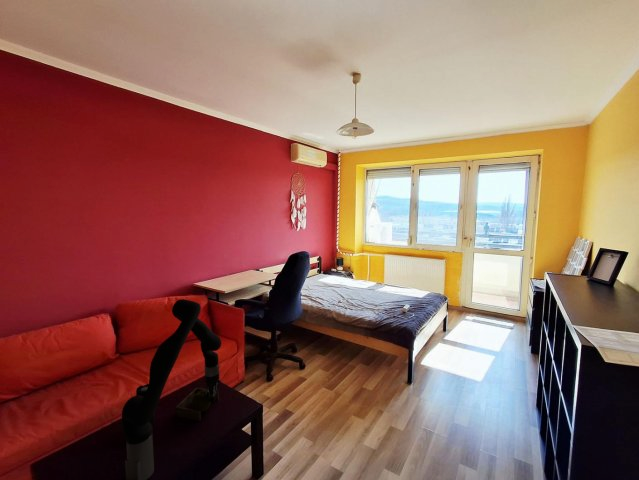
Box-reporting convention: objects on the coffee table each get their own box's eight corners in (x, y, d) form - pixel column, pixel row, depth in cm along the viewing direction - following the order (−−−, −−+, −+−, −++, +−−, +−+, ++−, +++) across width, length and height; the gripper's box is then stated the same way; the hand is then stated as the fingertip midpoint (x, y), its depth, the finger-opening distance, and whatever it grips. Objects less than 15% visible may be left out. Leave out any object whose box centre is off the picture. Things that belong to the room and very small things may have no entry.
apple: (211, 413, 159) (210, 394, 158) (192, 417, 156) (190, 398, 155) (212, 402, 169) (211, 384, 167) (193, 405, 165) (192, 387, 164)
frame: (199, 420, 154) (199, 411, 153) (175, 416, 157) (175, 407, 156) (218, 399, 171) (218, 391, 171) (196, 395, 174) (196, 387, 174)
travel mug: (147, 431, 146) (145, 393, 144) (134, 428, 148) (132, 391, 145) (158, 420, 153) (156, 384, 151) (145, 418, 155) (144, 382, 153)
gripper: (211, 380, 153) (212, 411, 155) (224, 366, 165) (225, 395, 167) (198, 378, 154) (199, 408, 156) (212, 365, 167) (213, 393, 169)
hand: (213, 401), depth 162 cm, fingers closed
